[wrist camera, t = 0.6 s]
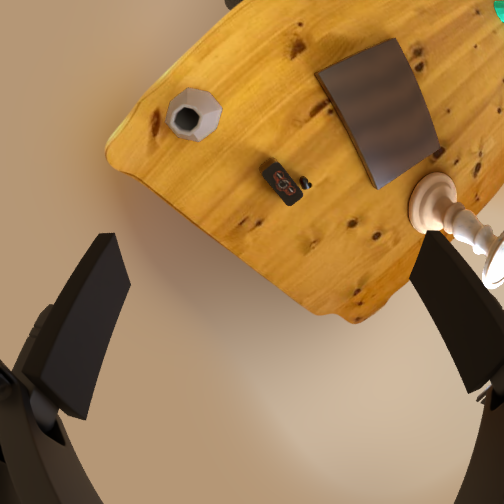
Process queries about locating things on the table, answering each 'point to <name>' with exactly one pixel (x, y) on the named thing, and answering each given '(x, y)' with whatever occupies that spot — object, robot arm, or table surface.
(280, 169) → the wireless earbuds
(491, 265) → the candle holder
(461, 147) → the table surface
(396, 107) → the walnut board
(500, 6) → the candle
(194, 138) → the flask
